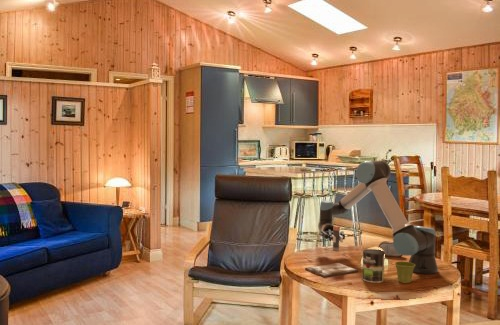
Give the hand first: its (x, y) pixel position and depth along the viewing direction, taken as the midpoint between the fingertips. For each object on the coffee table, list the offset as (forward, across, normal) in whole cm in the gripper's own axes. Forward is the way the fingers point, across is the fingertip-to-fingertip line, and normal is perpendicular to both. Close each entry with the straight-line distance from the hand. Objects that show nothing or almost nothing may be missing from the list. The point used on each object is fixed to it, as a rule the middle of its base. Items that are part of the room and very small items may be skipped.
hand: (338, 239), depth 258 cm
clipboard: (+2, +4, -16) cm, 16 cm away
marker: (-5, 0, -7) cm, 9 cm away
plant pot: (+21, -28, -16) cm, 38 cm away
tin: (-29, -38, -16) cm, 51 cm away
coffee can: (+18, -13, -16) cm, 28 cm away
